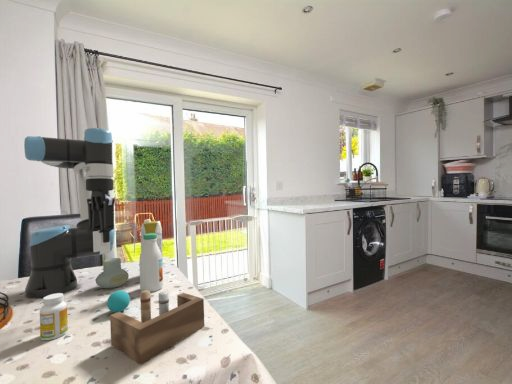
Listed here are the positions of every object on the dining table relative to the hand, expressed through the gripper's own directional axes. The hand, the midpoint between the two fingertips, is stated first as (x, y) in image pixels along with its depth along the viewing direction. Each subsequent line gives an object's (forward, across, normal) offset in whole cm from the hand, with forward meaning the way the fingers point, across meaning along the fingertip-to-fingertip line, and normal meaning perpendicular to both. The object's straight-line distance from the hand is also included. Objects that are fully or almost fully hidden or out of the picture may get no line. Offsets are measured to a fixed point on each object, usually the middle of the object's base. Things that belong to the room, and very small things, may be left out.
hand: (101, 251), depth 81 cm
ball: (+14, +10, 0) cm, 17 cm away
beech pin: (+17, +24, 0) cm, 29 cm away
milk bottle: (+17, +2, +16) cm, 23 cm away
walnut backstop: (+17, +32, -1) cm, 36 cm away
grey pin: (+17, +28, +2) cm, 33 cm away
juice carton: (+17, -12, +25) cm, 32 cm away
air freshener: (+17, -14, +10) cm, 24 cm away
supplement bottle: (+17, +8, -15) cm, 24 cm away
